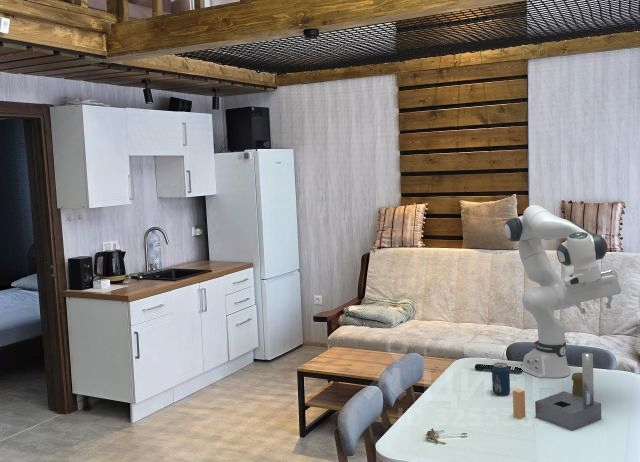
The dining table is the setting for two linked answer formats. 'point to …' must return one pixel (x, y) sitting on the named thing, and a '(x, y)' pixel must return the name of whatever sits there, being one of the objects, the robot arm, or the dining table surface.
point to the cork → (577, 384)
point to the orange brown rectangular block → (519, 403)
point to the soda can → (500, 379)
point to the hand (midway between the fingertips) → (596, 310)
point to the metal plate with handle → (572, 403)
